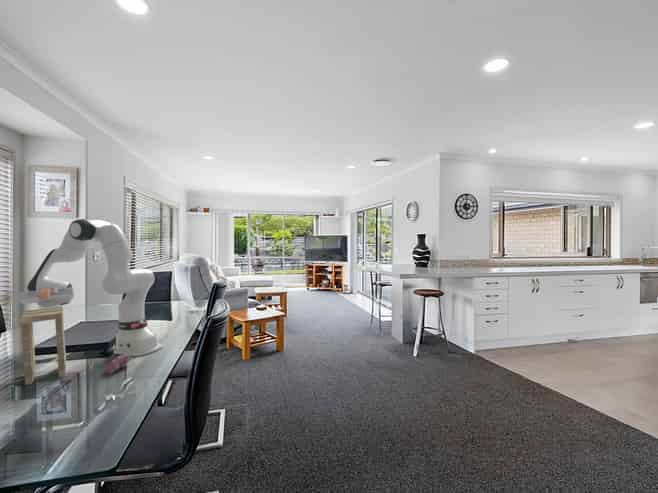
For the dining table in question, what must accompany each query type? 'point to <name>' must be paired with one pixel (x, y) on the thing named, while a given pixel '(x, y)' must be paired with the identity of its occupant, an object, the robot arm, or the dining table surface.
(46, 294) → the terracotta bar
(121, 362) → the video game controller
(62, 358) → the wooden stand
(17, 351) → the dining table surface
